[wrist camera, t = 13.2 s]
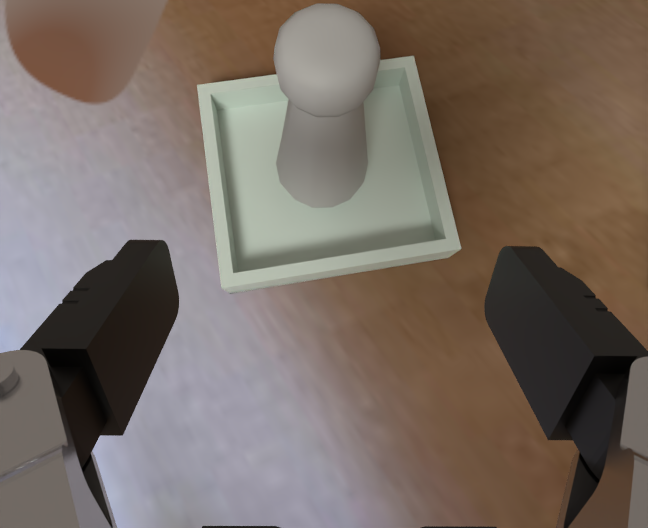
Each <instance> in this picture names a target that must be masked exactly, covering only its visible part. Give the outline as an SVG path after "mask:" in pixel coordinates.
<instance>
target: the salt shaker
mask: <svg viewBox="0 0 648 528" xmlns="http://www.w3.org/2000/svg"><path fill="white" fill-rule="evenodd" d="M274 64H275V68H276V72H277V77H278V81H279V85H280V89H281V91H282V92H283V93H284V94H285V95H286V97H287V98H288V99H289V100H288V105H287V111H286V116H285V121H284V127H283V132H282V138H281V142H280V147H279V151H278V156H277V160H276V166H277V171H278V176H279V181H280V183H281V184H282V186H283V187H284V188H285V189H286V190H287V191H288V192H289V194H290V195H291V196H292V197H293V198H294V199H295V200H297V201H299V202H301V203H303V204H305V205H308V206H310V207H312V208H327V207H334V206H337V205H339V204H341V203H343V202H345V201H348V200H350V199H351V198H352V196H353V195H354V194H355V193H356V192H357V190H358V189H359V188H360V187H361V185H362V184H363V183H364V180H365V175H366V170H367V166H368V156H367V143H366V130H365V116H364V103H363V101H364V100H365V99H366V98H367V96H368V95H369V94H370V93H371V92H372V90H373V88H374V84H375V81H376V77H377V73H378V68H379V64H380V46H379V43H378V40H377V37H376V34H375V30H374V28H373V27H372V26H371V25H370V24H369V23H368V22H367V21H366V20H365V19H364V18H363V16H362V15H361V14H360V13H358V12H356V11H353V10H351V9H349V8H346V7H344V6H341V5H339V4H314V5H312V6H309V7H307V8H305V9H302V10H300V11H297V12H295V13H294V14H293V15H292V16H291V17H290V18H289V19H288V20H287V21H286V22H285V23H284V24H283V25H282V26H281V27H280V29H279V33H278V37H277V41H276V44H275V49H274Z"/></svg>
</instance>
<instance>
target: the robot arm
mask: <svg viewBox="0 0 648 528" xmlns="http://www.w3.org/2000/svg"><path fill="white" fill-rule="evenodd" d="M595 296H596V295H595V294H594V293H593V292H592V291H591V290H590V289H589V288H588V287H587V286H586V285H585V284H584V283H583V281H582V280H580V279H578V278H577V277H575V276H574V275H572V274H570V273H569V272H567V271H566V270H564V269H562V268H558V267H557V265H556V264H555V263H554V262H553V261H552V260H551V259H550V258H549V256H548V255H547V254H546V253H545V252H544V251H543V250H542V249H541V248H540V247H526V246H505V247H503V248H502V250H501V251H500V253H499V255H498V259H497V262H496V265H495V268H494V272H493V275H492V278H491V281H490V285H489V288H488V291H487V294H486V298H485V317H486V320H487V323H488V325H489V327H490V329H491V331H492V333H493V335H494V336H495V338H496V340H497V342H498V344H499V346H500V348H501V350H502V352H503V354H504V356H505V358H506V360H507V362H508V363H509V365H510V367H511V369H512V371H513V373H514V375H515V377H516V379H517V381H518V383H519V385H520V387H521V388H522V390H523V392H524V394H525V396H526V398H527V400H528V402H529V404H530V406H531V408H532V410H533V412H534V414H535V415H536V417H537V419H538V421H539V423H540V425H541V427H542V429H543V431H544V433H545V435H546V437H547V439H548V440H573V441H574V443H575V444H576V446H577V448H578V450H577V452H576V453H575V455H574V456H573V459H572V462H571V466H570V471H569V475H568V479H567V483H566V487H565V492H564V496H563V500H562V504H561V508H560V513H559V517H558V521H557V525H556V528H648V351H647V350H646V349H645V348H644V347H643V346H642V345H641V343H640V342H639V341H638V340H637V339H636V338H635V337H634V336H633V335H632V334H631V333H630V332H629V331H628V330H627V329H626V327H625V326H624V325H623V324H622V323H621V322H620V321H619V320H618V319H617V318H616V317H615V316H614V315H613V314H612V312H608V311H607V309H608V308H607V307H606V306H605V305H604V304H603V303H602V302H601V301H600V300H599V299H596V298H595ZM62 301H63V303H62V304H59V305H58V306H57V307H56V308H55V310H54V311H53V312H52V313H51V314H50V315H49V316H48V318H47V319H46V320H45V321H44V322H43V323H42V325H41V326H40V327H39V328H38V329H37V330H36V332H35V333H34V334H33V335H32V336H31V337H30V338H29V340H28V341H27V342H26V343H25V344H24V345H23V347H22V348H21V349H20V350H16V351H9V352H4V353H0V528H117V526H116V523H115V519H114V516H113V513H112V510H111V507H110V503H109V500H108V497H107V494H106V491H105V487H104V484H103V481H102V478H101V474H100V471H99V468H98V465H97V462H96V458H95V456H94V454H93V452H92V450H93V448H94V446H95V444H96V442H97V440H98V438H99V436H100V435H123V434H124V431H125V429H126V427H127V425H128V423H129V421H130V418H131V416H132V414H133V412H134V410H135V407H136V405H137V403H138V401H139V399H140V396H141V394H142V392H143V390H144V388H145V385H146V383H147V381H148V379H149V377H150V374H151V372H152V370H153V368H154V366H155V364H156V361H157V359H158V357H159V355H160V353H161V350H162V348H163V346H164V344H165V342H166V339H167V337H168V335H169V333H170V331H171V328H172V326H173V324H174V322H175V320H176V317H177V314H178V308H179V294H178V289H177V285H176V280H175V276H174V271H173V267H172V262H171V258H170V253H169V249H168V246H167V244H166V243H165V241H163V240H129V241H128V242H127V243H126V244H125V245H124V246H123V247H122V249H121V250H120V251H119V252H118V254H117V255H116V256H115V257H114V259H113V260H106V261H104V262H103V263H101V264H100V265H98V266H96V267H95V268H93V269H92V270H90V271H88V272H87V273H86V274H85V275H84V276H83V277H82V278H81V279H80V281H79V282H78V283H77V284H76V285H75V286H74V288H73V291H70V292H69V293H68V295H67V296H66V297H65V298H64V299H63V300H62ZM202 528H280V527H276V526H202ZM422 528H497V527H422Z"/></svg>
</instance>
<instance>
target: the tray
mask: <svg viewBox="0 0 648 528" xmlns="http://www.w3.org/2000/svg"><path fill="white" fill-rule="evenodd" d="M197 89H198V97H199V105H200V114H201V122H202V130H203V139H204V147H205V155H206V164H207V172H208V180H209V188H210V197H211V205H212V213H213V222H214V230H215V238H216V247H217V255H218V263H219V271H220V280H221V288H222V289H224V290H225V291H227V292H228V293H230V294H231V293H237V292H243V291H249V290H256V289H262V288H268V287H274V286H280V285H286V284H292V283H298V282H304V281H310V280H316V279H322V278H328V277H334V276H340V275H347V274H353V273H359V272H365V271H371V270H377V269H383V268H389V267H395V266H401V265H407V264H413V263H419V262H425V261H431V260H437V259H444V258H449V257H450V256H452V255H453V254H455V253H456V252H458V251H459V250H461V245H460V241H459V237H458V233H457V229H456V225H455V221H454V217H453V213H452V209H451V205H450V201H449V197H448V193H447V189H446V184H445V180H444V176H443V172H442V168H441V164H440V160H439V156H438V152H437V148H436V144H435V140H434V136H433V132H432V128H431V124H430V120H429V116H428V112H427V107H426V103H425V99H424V95H423V91H422V87H421V83H420V79H419V75H418V71H417V67H416V63H415V59H414V56H408V57H401V58H393V59H386V60H380V64H379V68H378V73H377V77H376V81H375V84H374V88H373V90H372V92H371V93H370V94H369V95H368V96H367V98H366V99H365V100H364V101H363V103H364V116H365V130H366V143H367V156H368V166H367V170H366V175H365V180H364V183H363V184H362V185H361V187H360V188H359V189H358V190H357V192H356V193H355V194H354V195H353V196H352V198H351V199H350V200H348V201H345V202H343V203H341V204H339V205H337V206H334V207H327V208H312V207H310V206H308V205H305V204H303V203H301V202H299V201H297V200H295V199H294V198H293V197H292V196H291V195H290V194H289V192H288V191H287V190H286V189H285V188H284V187H283V186H282V184H281V183H280V181H279V176H278V171H277V166H276V160H277V156H278V151H279V147H280V142H281V138H282V132H283V127H284V121H285V116H286V111H287V105H288V100H289V99H288V98H287V97H286V95H285V94H284V93H283V92H282V91H281V89H280V85H279V81H278V77H277V74H275V75H268V76H260V77H253V78H245V79H238V80H231V81H223V82H216V83H208V84H201V85H197Z"/></svg>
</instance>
